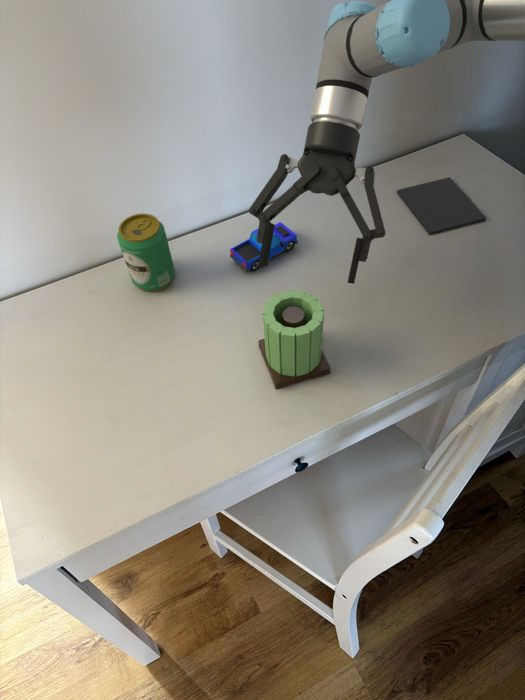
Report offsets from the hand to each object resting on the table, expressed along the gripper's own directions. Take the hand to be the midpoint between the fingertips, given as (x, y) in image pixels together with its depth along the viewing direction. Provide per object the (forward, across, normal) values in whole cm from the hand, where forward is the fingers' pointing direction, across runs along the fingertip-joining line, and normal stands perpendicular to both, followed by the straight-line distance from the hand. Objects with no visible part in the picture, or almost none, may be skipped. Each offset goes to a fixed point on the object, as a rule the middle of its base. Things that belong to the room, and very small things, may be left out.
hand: (305, 275), depth 80 cm
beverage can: (+6, +30, -12) cm, 32 cm away
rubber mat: (-18, -18, -35) cm, 43 cm away
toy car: (-2, +12, -20) cm, 23 cm away
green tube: (+12, 0, -3) cm, 13 cm away
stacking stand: (+14, 0, -4) cm, 14 cm away
